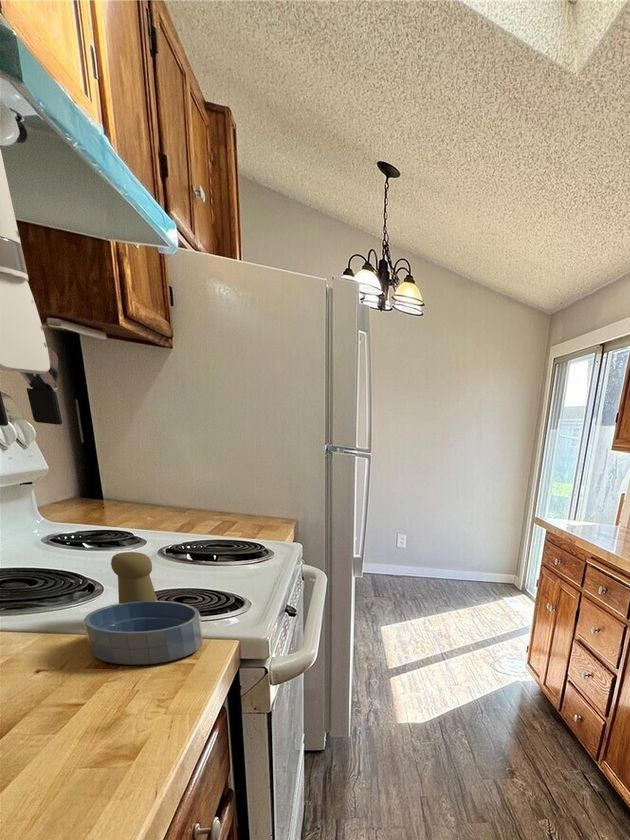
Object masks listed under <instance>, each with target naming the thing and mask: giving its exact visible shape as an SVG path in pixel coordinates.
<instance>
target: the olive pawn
mask: <svg viewBox="0 0 630 840" xmlns="http://www.w3.org/2000/svg"><path fill="white" fill-rule="evenodd" d="M110 565H111V569H112V572H113V573H114V574H115V575H116V576H117V586H118V587H117V588H118V590H117V591H118V604H121V603H127V602H137V601H159V600H158V597H157V594H156V591H155V587H154V585H153V581H152V579H151V576H150V575H151V573H152V571H153V564H152V561H151V558H150V557H149V556H148V555H147V554H145V553H142V552H137V551H124V552H118V553H116V554H114V555H112V558H111V561H110Z"/></svg>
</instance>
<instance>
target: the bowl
mask: <svg viewBox="0 0 630 840" xmlns="http://www.w3.org/2000/svg"><path fill="white" fill-rule="evenodd" d="M201 618H202V617H201V612H200V611H199V609H197V608H196V607H194V606H192V605H189V604H187V603H183V602H177V601H168V600H158V601H137V602H127V603H121V604H119V603H116V604H110V605H106V606H104V607H100V608H97V609H96V610H93V611H91V612H90V613H87V615H85V617H84V618H83V624H84V629H85V632H86V636H87V640H88V645H89V650H90V652H91V654H92V656H93V657H94V658H96V659H98V660H100V661H102V662H105V663H106V662H107V663H111V664H118V665H127V666H128V665H129V666H131V665H132V666H146V665H156V664H162V663H167V662H172V661H175V660H179V659H181V658H184V657H187V656H189V655H192V654H193V653H196V652H198V650H199V649H200V648H202V647H203V645H204V634H203V627H202V619H201Z"/></svg>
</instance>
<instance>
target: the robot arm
mask: <svg viewBox="0 0 630 840" xmlns="http://www.w3.org/2000/svg"><path fill="white" fill-rule="evenodd" d="M6 172H7V171H6V168H5V162H4V159H3V154H2V150H1V148H0V370H2V371H6V372H7V371H8V372H16V373H17V372H18V373H20V375H21V376H22V377H23V379H24V380H25V382H26V383H27V384H28V386H29V387H27V388H26V391H27V392H26V394H27V398H28V401H29V406H30V408H31V415H32V419H33V421H34V422H36V423H39V424H48V425H49V424H50V425H56V426H57V425H58V426H59V425H62V424H63V418H62V413H61V409H60V404H59V399H58V395H57V392H58V391H59V386H58V384H57V381H58V378H59V373H58V362H59V358H58V355H57V354H56V353H55V352H54V351H53V350H52V349H51V348H50V347H48V345H47V340H46V336H45V332H44V327H43V325H42V321H41V317H40V314H39V311H38V308H37V304H36V302H35V299H34V295H33V292H32V290H31V287H30V284H29V275H28V270H27V264H26V260H25V256H24V251H23V247H22V242H21V237H20V233H19V229H18V224H17V220H16V219H17V218H16V215H15V210H14V205H13V201H12V196H11V191H10V187H9V182H8V178H7V173H6ZM8 425H9V419H8V415H7V411H6V407H5V404H4V398H3V396H2V392H1V391H0V426H1V427H7V426H8Z"/></svg>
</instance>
